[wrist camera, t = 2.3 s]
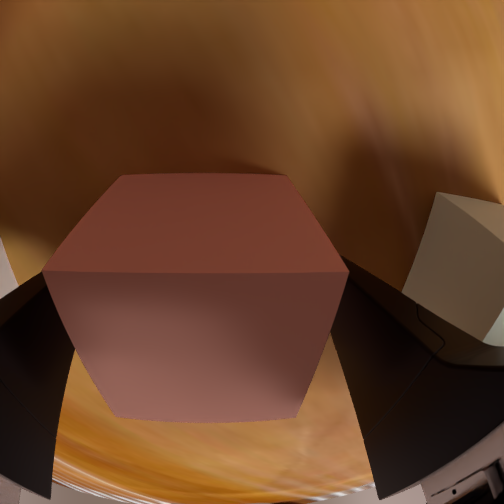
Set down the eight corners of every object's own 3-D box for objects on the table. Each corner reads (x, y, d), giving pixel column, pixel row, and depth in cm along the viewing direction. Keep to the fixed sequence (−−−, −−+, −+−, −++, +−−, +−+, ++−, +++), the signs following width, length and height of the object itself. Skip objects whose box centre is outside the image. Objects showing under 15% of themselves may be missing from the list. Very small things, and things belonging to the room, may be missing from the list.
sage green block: (500, 203, 10) (570, 260, 6) (466, 287, 13) (517, 351, 8) (435, 190, 9) (526, 263, 5) (399, 294, 12) (452, 379, 8)
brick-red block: (285, 174, 9) (349, 271, 4) (269, 301, 11) (295, 417, 7) (121, 174, 8) (41, 270, 4) (141, 301, 11) (115, 416, 6)
